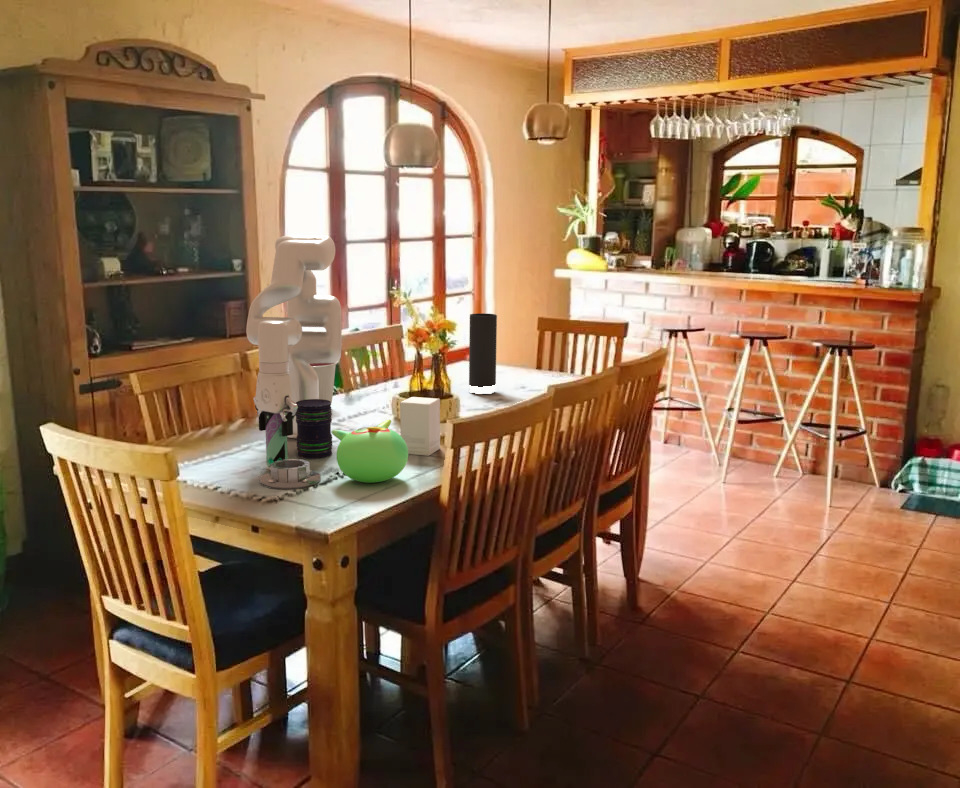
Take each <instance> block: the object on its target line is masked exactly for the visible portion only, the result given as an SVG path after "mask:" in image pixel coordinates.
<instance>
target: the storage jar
mask: <svg viewBox="0 0 960 788" xmlns="http://www.w3.org/2000/svg"><path fill="white" fill-rule="evenodd" d="M296 404H297V406H298V408H297V411H296V423H297V438H295V440H296V451H297V454H296V455H297V457H298V459H302V460H321V459H326V458H329V457H331V456H332V455H333V451H332V449H333V434H332V426H331V425H332V423H331V421H332V403H331V401H329V400H323V399H307V400H301V401H298V402H296Z"/></svg>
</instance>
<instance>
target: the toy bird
mask: <svg viewBox="0 0 960 788" xmlns="http://www.w3.org/2000/svg"><path fill="white" fill-rule="evenodd" d="M391 423H392V420H391V419H386V420H384V421H382V422H380V423H379V424H377V425H374V426H367V427H361V428H358V429H355V430H353V431H346V430H341V429H331V435H332V436H334V437H335V438H337V439H338V440H340V442H339V444H338V446H337V449H336V462H337V465H338V468H339V469H340V471H341V473H343V474H344V475H345V476H346V477H348V478H349V479H351V480H354V481H357V482H360V483H369V484H370V483H371V484H372V483H374V484H375V483H381V482H385V481H388V480H390V479H391V480H392V478H394V477H396V476H398V475H399V474H400V473H401V472H402V471H403V470H404V469H405V467H406V465H407V464H408V463H407V462H408V460H409V454H408V448H407V445H406V442H405V441H404V439H403V438H402V437H401V434H400V433H398V432H397V431H394V429H393V430H392V429H390V425H391Z"/></svg>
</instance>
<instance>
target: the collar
mask: <svg viewBox="0 0 960 788" xmlns="http://www.w3.org/2000/svg"><path fill="white" fill-rule="evenodd" d="M270 465H271V470H270V472H268V473H267V472H266V473H265V474H263V475H261V476H260V478H259V483H260V485H261V486H262V487H265V488H268V489H274V490H295V489H294V488H299V489H303V487H305V488H308V487H313V486H314V485H317V484H318V483H320V482H321V479H322V476H321V474H320V473H319V472H317V471H314V470H312V469H311V468H310V467H311V466H310V465H311V464H310V461H308V460H307V459H302V458H288V459H284V460H279V461H275V462H273V463H272V464H270Z"/></svg>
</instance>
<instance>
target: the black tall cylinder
mask: <svg viewBox="0 0 960 788" xmlns="http://www.w3.org/2000/svg"><path fill="white" fill-rule="evenodd" d="M497 322H498V315H497V314H495V313H470V314H469V343H468V344H469V349H468V350H469V352H468V353H469V355H468V357H469V359H468V361H469V362H468V386H469V385H471V386H478V387H483V386H492V385H495V384H497V331H498V330H497V329H498V327H497V325H498V323H497Z"/></svg>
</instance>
